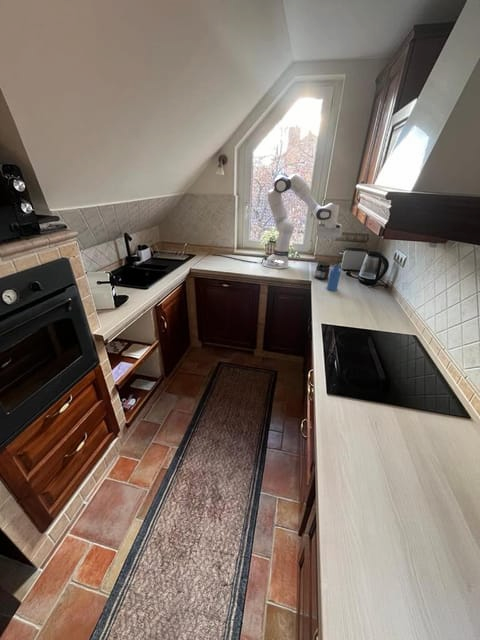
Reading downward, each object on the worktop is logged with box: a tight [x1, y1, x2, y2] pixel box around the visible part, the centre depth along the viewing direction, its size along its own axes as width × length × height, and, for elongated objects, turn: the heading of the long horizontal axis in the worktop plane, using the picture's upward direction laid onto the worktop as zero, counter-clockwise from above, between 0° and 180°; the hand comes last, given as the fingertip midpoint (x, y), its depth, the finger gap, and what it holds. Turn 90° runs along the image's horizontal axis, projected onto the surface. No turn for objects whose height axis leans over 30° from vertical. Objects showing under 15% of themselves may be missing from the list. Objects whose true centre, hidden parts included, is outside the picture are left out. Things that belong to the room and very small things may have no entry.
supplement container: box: [314, 261, 331, 281], centre depth 200 cm, size 10×10×12 cm
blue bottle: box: [326, 263, 342, 292], centre depth 179 cm, size 7×7×18 cm
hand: (327, 242), depth 211 cm, fingers closed
